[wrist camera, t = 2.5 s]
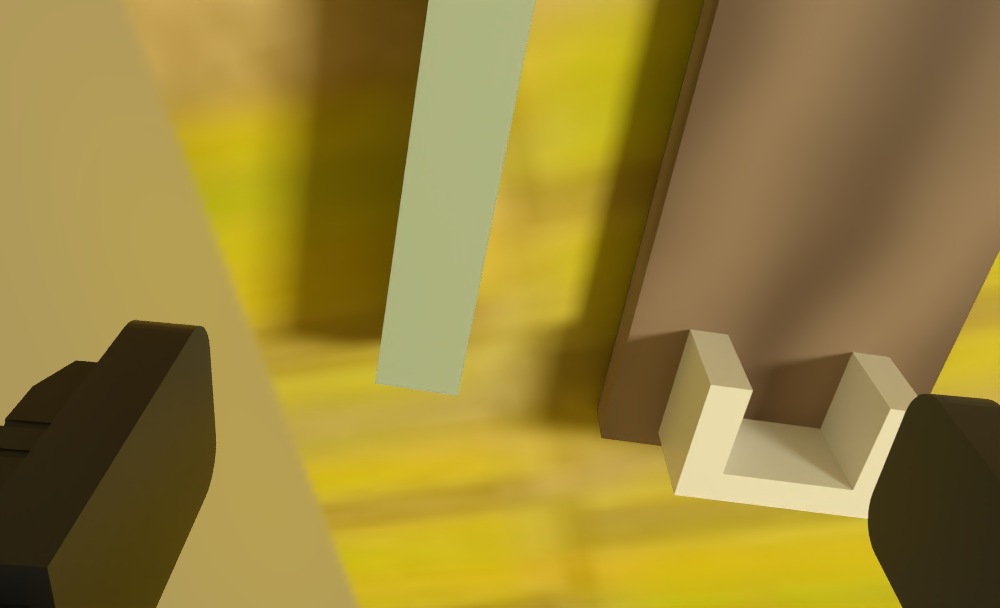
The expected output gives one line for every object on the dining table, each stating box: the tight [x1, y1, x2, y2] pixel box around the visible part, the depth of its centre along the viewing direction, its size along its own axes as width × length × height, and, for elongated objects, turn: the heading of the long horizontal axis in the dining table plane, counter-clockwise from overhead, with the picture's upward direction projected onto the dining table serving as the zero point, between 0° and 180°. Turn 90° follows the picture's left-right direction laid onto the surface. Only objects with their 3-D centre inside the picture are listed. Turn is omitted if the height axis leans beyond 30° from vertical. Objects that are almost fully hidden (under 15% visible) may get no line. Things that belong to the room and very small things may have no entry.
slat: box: [375, 0, 536, 396], centre depth 23 cm, size 2×16×4 cm, turn 170°
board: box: [597, 0, 1000, 446], centre depth 24 cm, size 10×21×2 cm, turn 171°
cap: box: [658, 329, 917, 519], centre depth 26 cm, size 6×4×3 cm, turn 81°
